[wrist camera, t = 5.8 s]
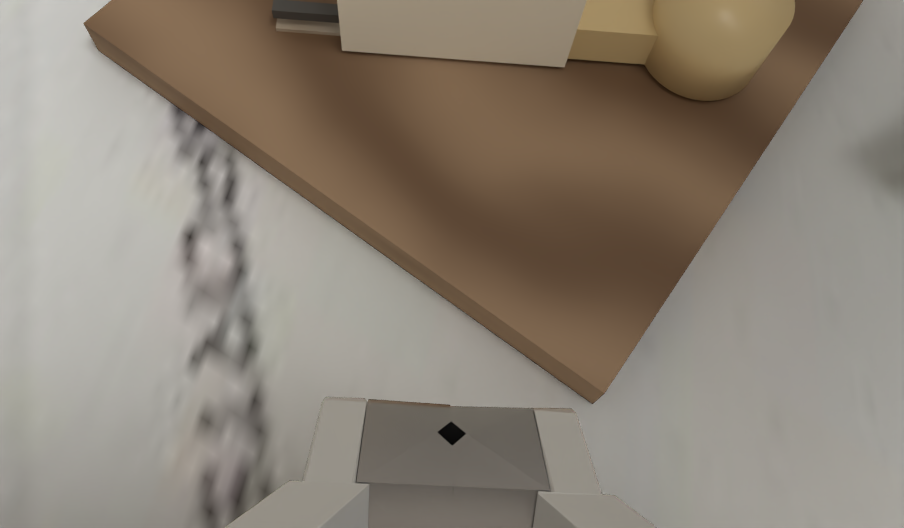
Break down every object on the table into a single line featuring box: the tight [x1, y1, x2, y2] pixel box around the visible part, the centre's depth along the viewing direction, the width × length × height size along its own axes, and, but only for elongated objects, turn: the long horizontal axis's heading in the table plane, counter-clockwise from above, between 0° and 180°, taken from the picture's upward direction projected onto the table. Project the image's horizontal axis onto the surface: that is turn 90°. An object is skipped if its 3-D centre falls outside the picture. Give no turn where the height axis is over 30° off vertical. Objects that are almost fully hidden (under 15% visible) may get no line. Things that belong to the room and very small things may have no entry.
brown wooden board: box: [84, 0, 863, 404], centre depth 30 cm, size 22×22×2 cm
